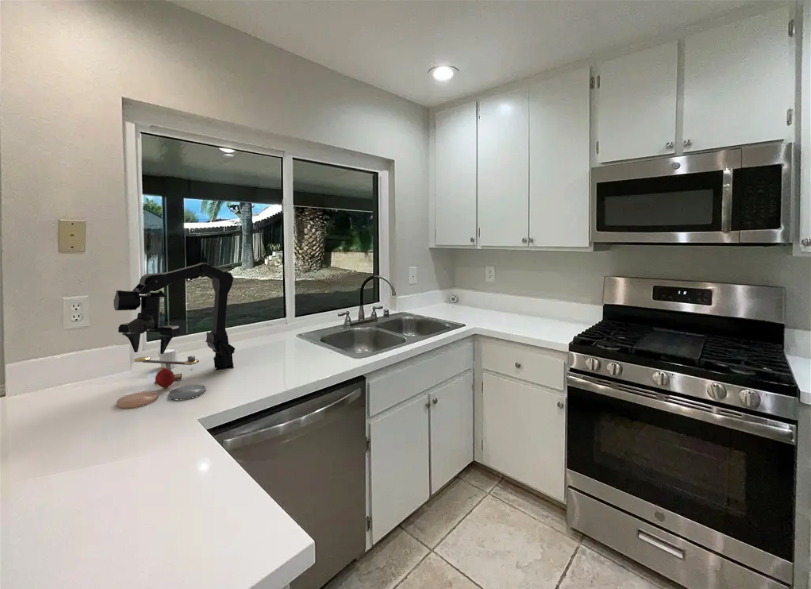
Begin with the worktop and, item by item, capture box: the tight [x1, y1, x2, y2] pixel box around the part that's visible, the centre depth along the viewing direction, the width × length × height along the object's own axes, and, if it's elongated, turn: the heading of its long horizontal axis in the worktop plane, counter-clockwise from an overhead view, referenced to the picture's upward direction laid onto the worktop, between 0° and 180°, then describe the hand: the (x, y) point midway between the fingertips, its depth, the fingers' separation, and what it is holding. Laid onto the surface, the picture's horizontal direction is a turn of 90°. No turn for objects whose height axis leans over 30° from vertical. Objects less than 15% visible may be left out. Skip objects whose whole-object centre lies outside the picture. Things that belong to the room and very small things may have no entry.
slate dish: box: [168, 383, 207, 401], centre depth 134 cm, size 11×11×1 cm
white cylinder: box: [157, 348, 178, 369], centre depth 162 cm, size 7×7×7 cm
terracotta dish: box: [116, 390, 158, 410], centre depth 128 cm, size 11×11×1 cm
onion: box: [154, 367, 175, 390], centre depth 139 cm, size 6×6×8 cm
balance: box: [133, 355, 200, 381], centre depth 147 cm, size 21×5×9 cm, turn 114°
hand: (149, 353), depth 140 cm, fingers open, 9 cm apart
